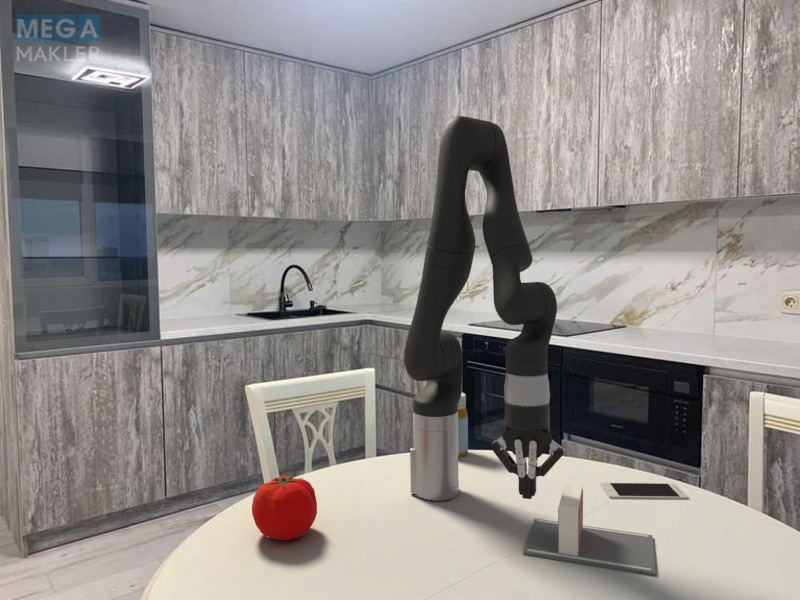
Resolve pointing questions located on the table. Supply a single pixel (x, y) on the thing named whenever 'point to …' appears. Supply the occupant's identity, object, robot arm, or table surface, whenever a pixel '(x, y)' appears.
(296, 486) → the tomato
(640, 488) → the smartphone
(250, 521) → the table surface
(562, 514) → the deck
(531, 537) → the mat
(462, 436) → the bottle
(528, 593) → the table surface
